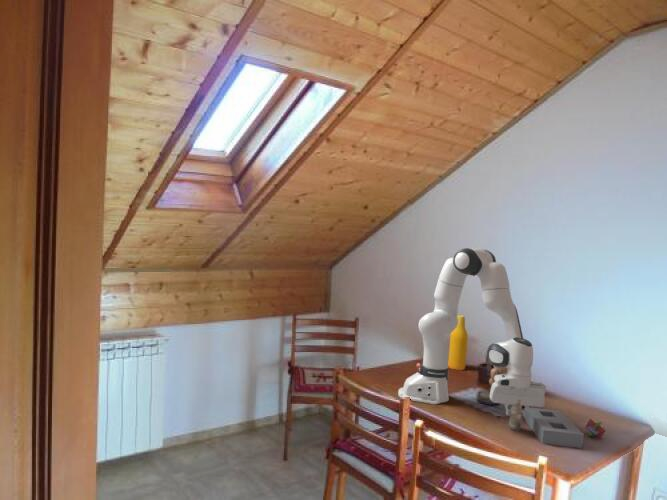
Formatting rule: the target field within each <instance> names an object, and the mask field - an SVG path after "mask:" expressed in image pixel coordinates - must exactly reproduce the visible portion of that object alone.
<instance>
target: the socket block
mask: <svg viewBox="0 0 667 500" xmlns="http://www.w3.org/2000/svg"><path fill="white" fill-rule="evenodd" d="M523 418H524V420H525V422H526V423H527V424H528V426H529V428H530V429H531V430H532V432H533V433H534V434H535V436H536V437H537V438H538V439H539V441H540V442H541V444H544V445H550V446H551V445H553V446H554V445H555V446H562V447H569V448H570V447H571V448H579V449H583V445H584V444H583V443H584V435H585V434H584V433H583V432H582V431H581V430H580V429H579V427H578V426H576V425H575V424H574V423H573V422H572V420H570V418H569V417H568V416H566V414H565V413H564V412H562V410H559V409H558V410H557V409H547V408H540V407H531V406H530V407H529V410H528V411H527V412H526V413H525V417H523Z"/></svg>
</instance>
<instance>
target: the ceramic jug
mask: <svg viewBox="0 0 667 500" xmlns="http://www.w3.org/2000/svg"><path fill="white" fill-rule="evenodd" d="M505 373H507V368H506V367H497V366H494V365H493V368H491V371H490V378H489V380H488V384H489V386H492V384H493V383H494V382H495V380H494V377H495V376H496V375H500V374H505Z"/></svg>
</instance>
